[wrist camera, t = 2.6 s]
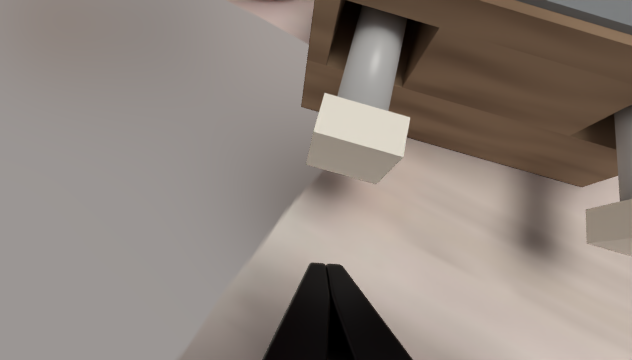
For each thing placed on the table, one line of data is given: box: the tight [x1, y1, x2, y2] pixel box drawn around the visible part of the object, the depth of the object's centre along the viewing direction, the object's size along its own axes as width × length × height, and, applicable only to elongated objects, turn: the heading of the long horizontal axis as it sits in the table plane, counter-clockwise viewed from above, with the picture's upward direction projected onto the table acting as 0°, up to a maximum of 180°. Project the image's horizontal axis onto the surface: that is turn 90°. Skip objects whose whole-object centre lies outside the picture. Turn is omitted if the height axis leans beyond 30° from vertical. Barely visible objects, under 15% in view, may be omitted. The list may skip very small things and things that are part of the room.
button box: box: [301, 0, 632, 187], centre depth 17 cm, size 8×19×10 cm, turn 76°
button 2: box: [306, 5, 410, 184], centre depth 14 cm, size 10×3×3 cm, turn 166°
